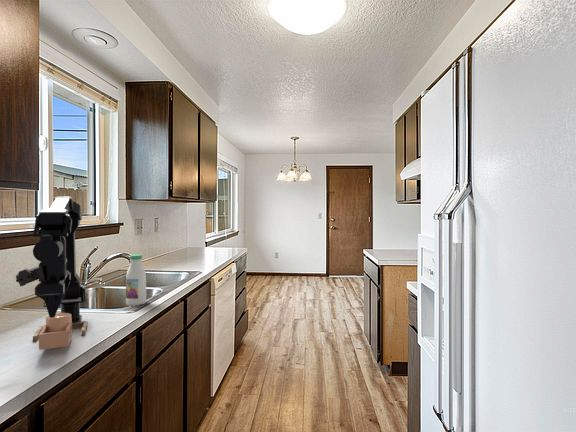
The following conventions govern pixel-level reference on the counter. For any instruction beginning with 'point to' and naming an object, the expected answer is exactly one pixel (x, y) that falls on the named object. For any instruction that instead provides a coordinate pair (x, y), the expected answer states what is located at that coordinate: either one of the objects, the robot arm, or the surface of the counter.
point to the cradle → (74, 325)
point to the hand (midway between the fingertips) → (54, 312)
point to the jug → (56, 331)
